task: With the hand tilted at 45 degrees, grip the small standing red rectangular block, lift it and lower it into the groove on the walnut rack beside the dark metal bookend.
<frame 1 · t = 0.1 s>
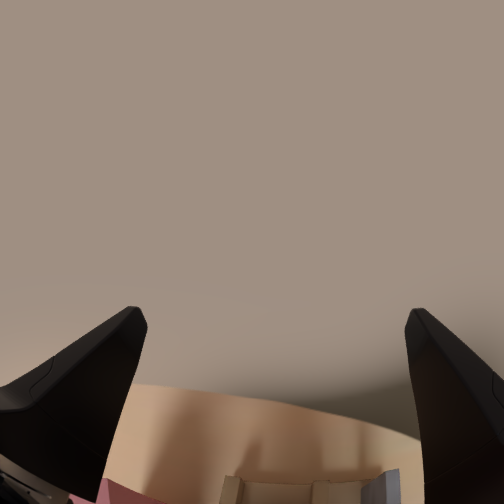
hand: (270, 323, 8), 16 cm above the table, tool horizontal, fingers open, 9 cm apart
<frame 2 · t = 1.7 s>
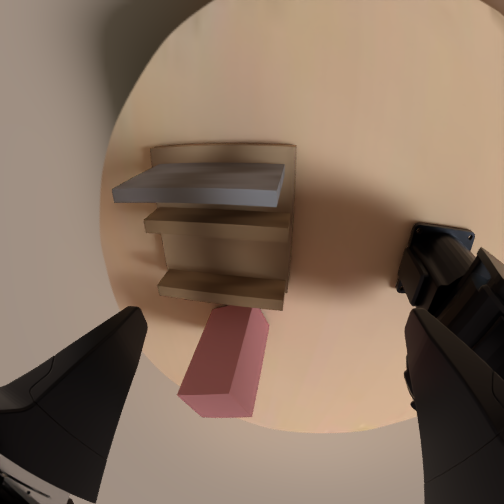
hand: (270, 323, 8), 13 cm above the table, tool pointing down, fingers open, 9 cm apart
book rack: (225, 243, 22), on the table
red rectangular block: (240, 317, 26), on the table
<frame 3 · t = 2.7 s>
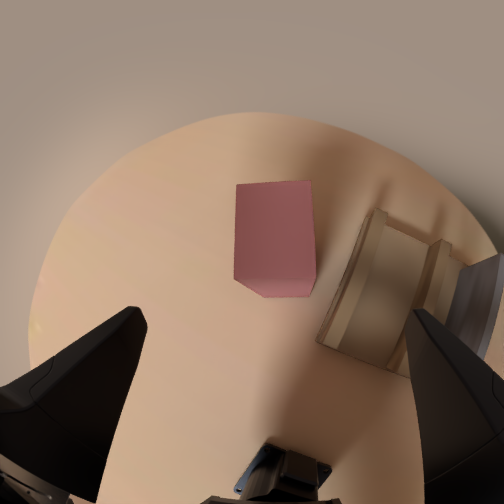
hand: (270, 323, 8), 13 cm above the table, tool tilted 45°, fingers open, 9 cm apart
book rack: (382, 296, 20), on the table
red rectangular block: (286, 268, 22), on the table
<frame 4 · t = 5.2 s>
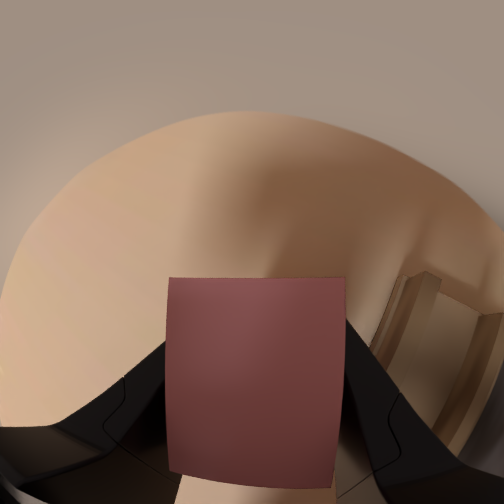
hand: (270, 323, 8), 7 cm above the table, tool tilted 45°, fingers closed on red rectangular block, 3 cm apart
book rack: (412, 383, 12), on the table
red rectangular block: (282, 348, 14), on the table, touching gripper
when the fingers open (9 cm above the table, at t = 8.4 s): red rectangular block drops 1 cm, resting on book rack.
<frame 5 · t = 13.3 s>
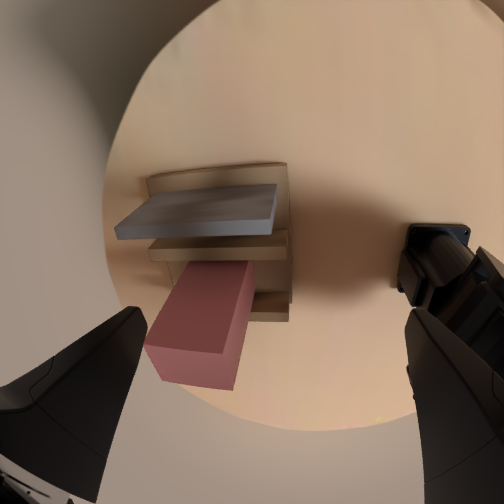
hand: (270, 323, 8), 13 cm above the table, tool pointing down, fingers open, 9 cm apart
book rack: (228, 262, 23), on the table
red rectangular block: (226, 268, 22), point 1 cm above the table, touching book rack
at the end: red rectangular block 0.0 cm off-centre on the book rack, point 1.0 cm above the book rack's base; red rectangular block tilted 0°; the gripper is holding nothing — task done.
